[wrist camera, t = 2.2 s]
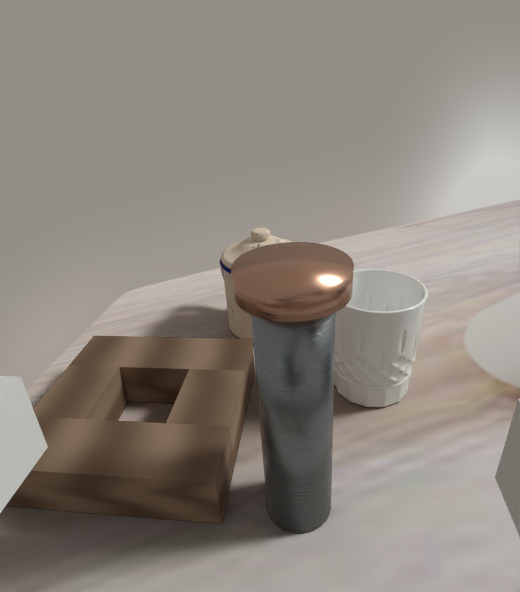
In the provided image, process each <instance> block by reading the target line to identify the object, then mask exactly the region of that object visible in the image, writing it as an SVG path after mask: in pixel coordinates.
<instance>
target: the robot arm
mask: <svg viewBox="0 0 520 592" xmlns="http://www.w3.org/2000/svg"><path fill="white" fill-rule="evenodd" d="M47 448H48V446H47V443H46V441H45V438H44V436H43V433H42V431H41V428H40V425H39V423H38V420H37V418H36V415H35V413H34V410H33V407H32V405H31V402H30V400H29V397H28V395H27V392H26V389H25V387H24V384H23V382H22V379H21V377H13V376H0V513H1V512H2V510H3V509H4V507H5V506H6V505H7V503H8V502H9V500H10V499H11V498H12V496H13V495H14V493H15V492H16V491H17V489H18V488H19V487H20V485H21V484H22V482H23V481H24V480H25V478H26V477H27V475H28V474H29V473H30V471H31V470H32V468H33V467H34V466H35V464H36V463H37V462H38V460H39V459H40V457H41V456H42V455H43V453H44V452H45V450H46V449H47ZM495 479H496V481H497V483H498V486H499V488H500V490H501V493H502V495H503V498H504V500H505V502H506V505H507V507H508V510H509V512H510V514H511V517H512V519H513V522H514V524H515V526H516V529H517V531H518V533H519V536H520V399H518V402H517V405H516V409H515V412H514V415H513V419H512V422H511V425H510V429H509V432H508V436H507V439H506V442H505V446H504V449H503V452H502V456H501V459H500V463H499V466H498V469H497V473H496V476H495Z"/></svg>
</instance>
